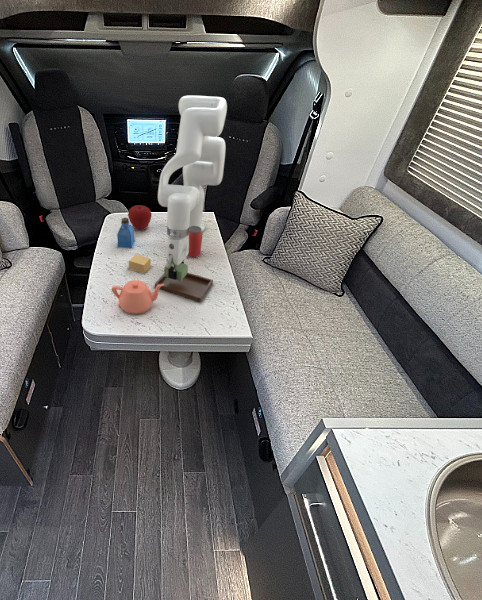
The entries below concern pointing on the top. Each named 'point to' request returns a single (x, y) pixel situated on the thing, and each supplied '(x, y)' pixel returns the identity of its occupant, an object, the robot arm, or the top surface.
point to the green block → (178, 271)
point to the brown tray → (186, 286)
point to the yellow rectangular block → (139, 263)
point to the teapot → (136, 296)
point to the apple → (139, 217)
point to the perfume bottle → (125, 234)
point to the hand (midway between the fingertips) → (175, 273)
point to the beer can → (195, 241)
